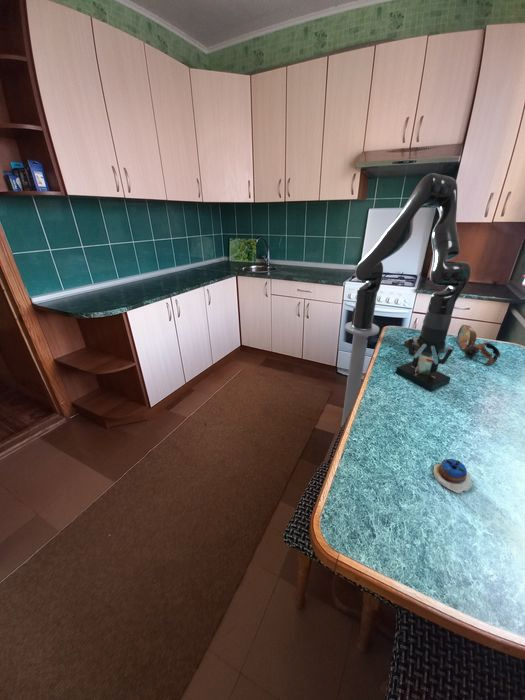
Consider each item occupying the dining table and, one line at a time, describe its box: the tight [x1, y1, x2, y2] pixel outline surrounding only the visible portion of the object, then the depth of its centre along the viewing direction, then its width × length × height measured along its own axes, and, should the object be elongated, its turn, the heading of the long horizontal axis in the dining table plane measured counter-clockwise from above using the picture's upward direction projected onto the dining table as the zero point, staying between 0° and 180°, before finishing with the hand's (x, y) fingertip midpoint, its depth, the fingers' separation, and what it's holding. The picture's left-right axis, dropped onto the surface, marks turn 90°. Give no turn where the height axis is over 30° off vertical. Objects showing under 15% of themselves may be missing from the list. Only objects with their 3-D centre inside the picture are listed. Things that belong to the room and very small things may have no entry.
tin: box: [456, 324, 477, 351], centre depth 124 cm, size 15×3×8 cm, turn 161°
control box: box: [395, 360, 452, 392], centre depth 103 cm, size 14×10×3 cm
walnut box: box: [403, 335, 445, 358], centre depth 124 cm, size 12×10×3 cm
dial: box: [415, 355, 434, 376], centre depth 102 cm, size 5×5×5 cm
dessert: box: [433, 458, 473, 494], centre depth 66 cm, size 8×7×6 cm
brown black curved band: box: [463, 341, 501, 366], centre depth 114 cm, size 12×10×8 cm
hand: (423, 369), depth 102 cm, fingers closed on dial, 5 cm apart
